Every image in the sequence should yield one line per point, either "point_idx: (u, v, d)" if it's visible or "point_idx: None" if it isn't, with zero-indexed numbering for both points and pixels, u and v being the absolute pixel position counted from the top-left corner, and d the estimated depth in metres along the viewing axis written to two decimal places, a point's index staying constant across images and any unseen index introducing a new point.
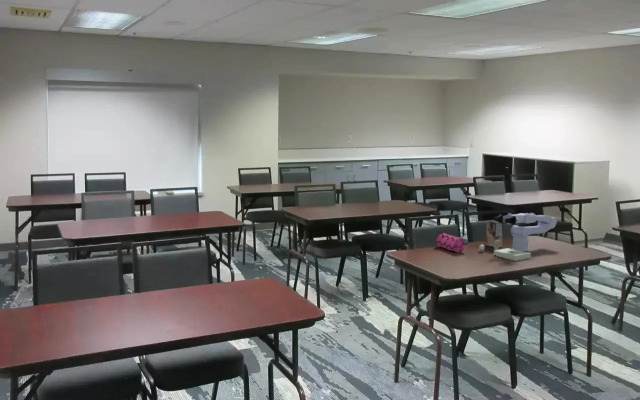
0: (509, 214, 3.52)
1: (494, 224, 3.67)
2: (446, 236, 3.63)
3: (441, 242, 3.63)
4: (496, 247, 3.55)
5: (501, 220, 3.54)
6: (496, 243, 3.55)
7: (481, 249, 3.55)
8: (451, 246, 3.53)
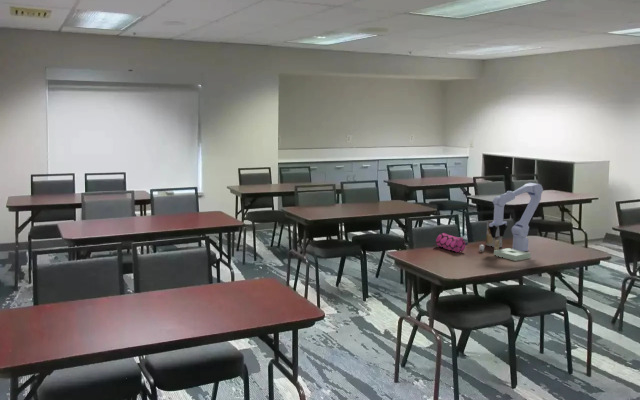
0: None
1: None
2: (446, 236, 3.63)
3: (441, 242, 3.62)
4: (496, 247, 3.55)
5: (502, 227, 3.56)
6: (496, 243, 3.55)
7: (481, 249, 3.55)
8: (451, 246, 3.53)
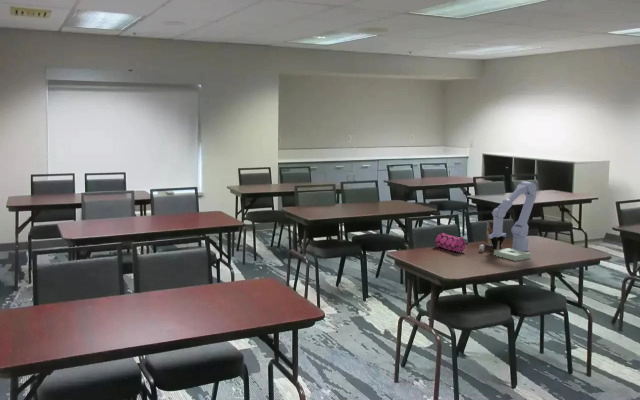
0: None
1: None
2: (445, 236, 3.63)
3: (440, 242, 3.62)
4: None
5: (500, 239, 3.56)
6: None
7: (481, 249, 3.55)
8: (452, 246, 3.52)
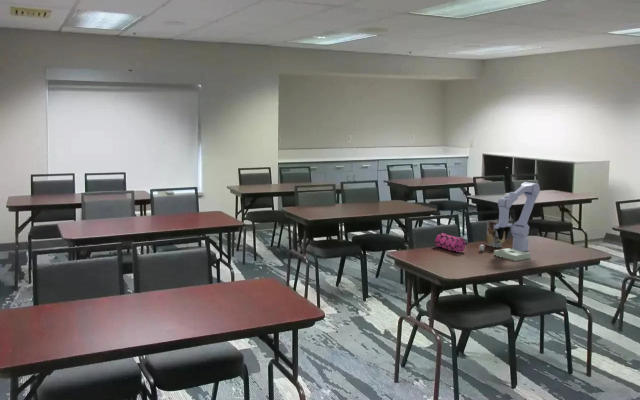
0: None
1: (494, 224, 3.67)
2: (445, 236, 3.63)
3: (440, 242, 3.62)
4: None
5: (506, 230, 3.50)
6: None
7: (481, 249, 3.55)
8: (452, 246, 3.52)
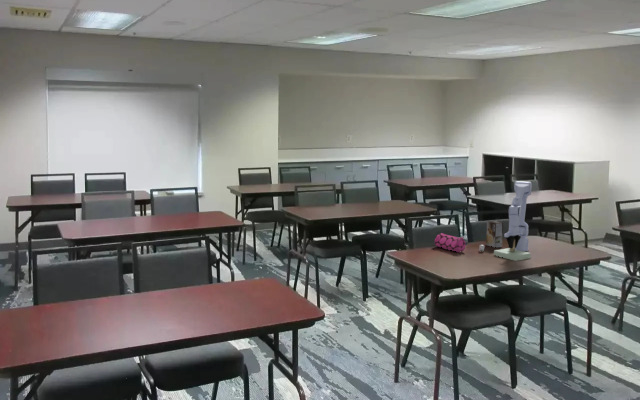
0: None
1: (494, 224, 3.67)
2: (445, 236, 3.63)
3: (440, 242, 3.62)
4: None
5: (516, 238, 3.42)
6: None
7: (481, 249, 3.55)
8: (452, 246, 3.52)
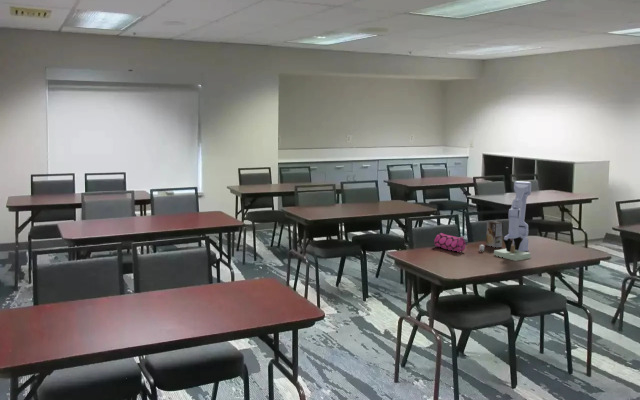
0: None
1: (494, 224, 3.67)
2: (444, 236, 3.62)
3: (440, 242, 3.61)
4: (511, 252, 3.42)
5: (518, 240, 3.43)
6: (511, 248, 3.42)
7: (481, 249, 3.55)
8: (452, 246, 3.52)
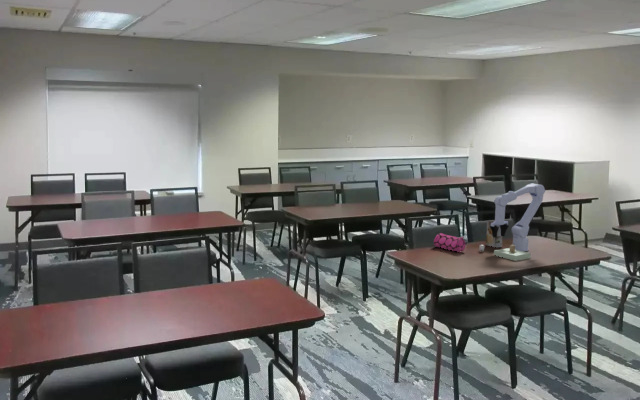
0: None
1: None
2: (444, 236, 3.62)
3: (439, 242, 3.61)
4: (511, 252, 3.42)
5: (504, 227, 3.57)
6: (511, 248, 3.42)
7: (481, 249, 3.55)
8: (452, 246, 3.52)
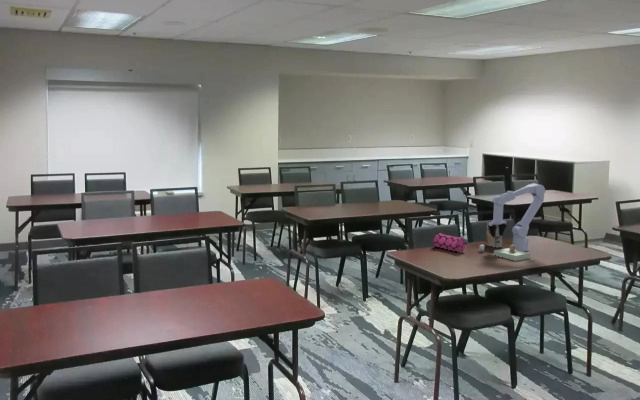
0: None
1: None
2: (443, 236, 3.62)
3: (439, 242, 3.61)
4: (511, 252, 3.42)
5: (502, 226, 3.59)
6: (511, 248, 3.42)
7: (481, 249, 3.55)
8: (452, 246, 3.52)
